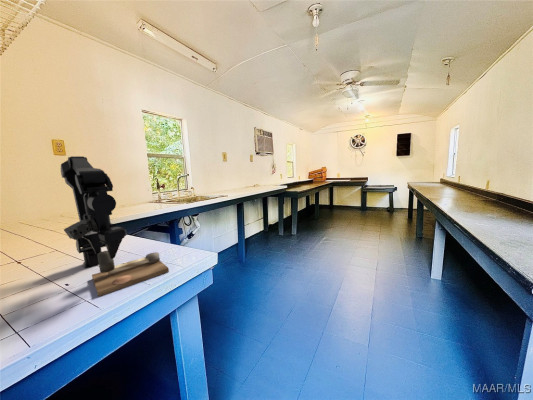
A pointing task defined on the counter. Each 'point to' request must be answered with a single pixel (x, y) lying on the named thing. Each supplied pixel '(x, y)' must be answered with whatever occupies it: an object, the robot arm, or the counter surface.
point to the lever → (108, 264)
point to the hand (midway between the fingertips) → (105, 255)
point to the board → (127, 277)
